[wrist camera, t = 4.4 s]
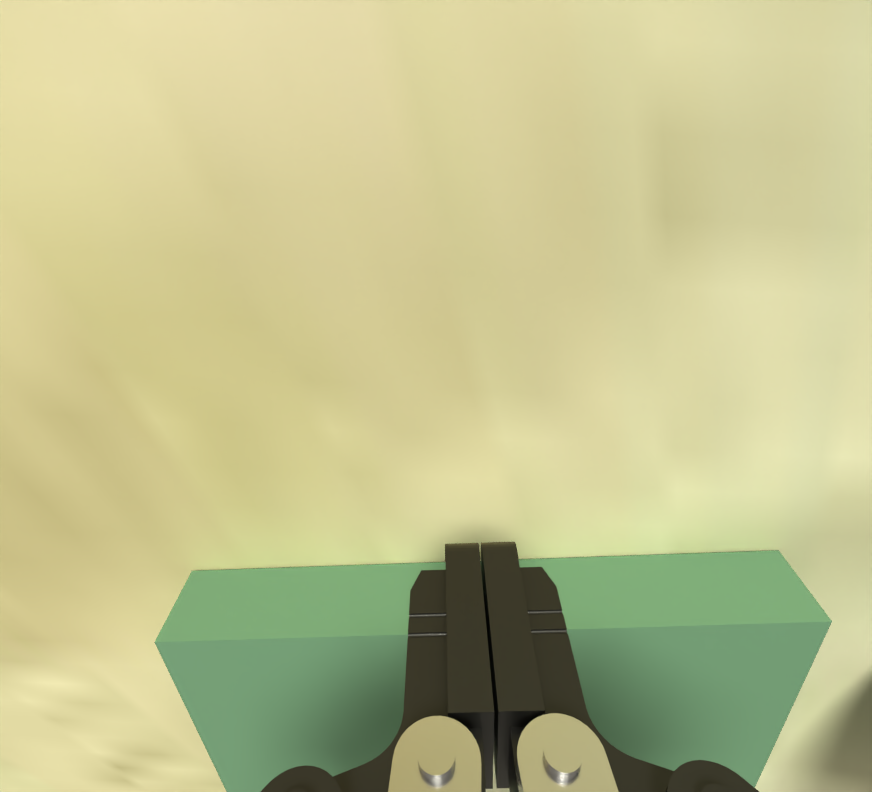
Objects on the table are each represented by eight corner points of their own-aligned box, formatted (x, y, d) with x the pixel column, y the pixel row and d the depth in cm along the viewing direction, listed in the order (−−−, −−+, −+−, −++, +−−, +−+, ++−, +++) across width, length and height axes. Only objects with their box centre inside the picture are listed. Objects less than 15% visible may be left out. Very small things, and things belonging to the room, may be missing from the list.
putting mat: (778, 550, 16) (832, 621, 14) (664, 869, 27) (684, 937, 25) (192, 571, 17) (154, 642, 14) (310, 875, 27) (299, 942, 25)
